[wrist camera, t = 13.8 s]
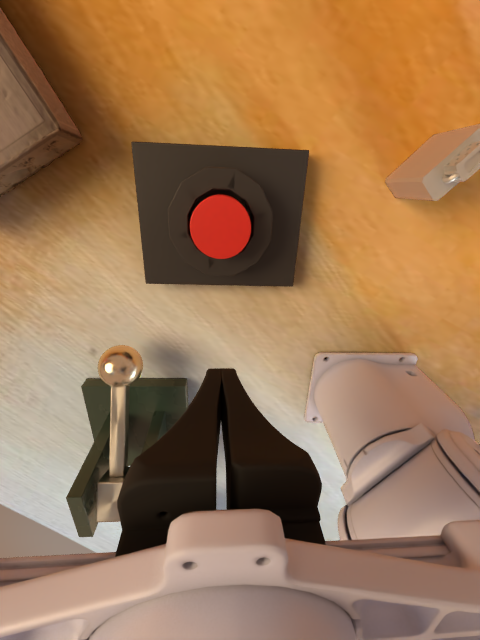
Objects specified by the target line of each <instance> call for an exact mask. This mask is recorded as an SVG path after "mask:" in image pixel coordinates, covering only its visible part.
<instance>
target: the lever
mask: <svg viewBox="0 0 480 640" xmlns="http://www.w3.org/2000/svg"><path fill="white" fill-rule="evenodd" d="M142 370H143V360H142V357H141V355H140V354H139V353H138V351H136V350H135V349H134V348H132V347H130V346H126V345H118V346H114V347H111V348H109V349H108V350H106V351H105V352H104V353H103V354H102V356H101V357H100V359H99V362H98V373H99V376H100V378H101V379H102V381H103V382H105V383H106V384H107V385H109V386H111V412H110V454H109V469H108V470H107V471H106V473H105V474H104V475H103V476H102V478H101V479H100V480H99V481H98V483H97V514H96V522H118V521H120V517H119V513H118V508H117V500H118V497H119V493H120V490H121V487H122V484H123V481H124V479H125V477H126V474H127V472H128V470H129V468H130V467H128V436H129V390H130V385H131V384H133V383H134V382H135V381H136V380H137V379H138V378H139V377H140V375H141V373H142Z"/></svg>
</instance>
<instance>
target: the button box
mask: <svg viewBox="0 0 480 640" xmlns="http://www.w3.org/2000/svg"><path fill="white" fill-rule="evenodd" d="M131 144H132V153H133V163H134V173H135V182H136V192H137V202H138V211H139V221H140V231H141V241H142V250H143V260H144V270H145V279H146V283H147V284H196V285H245V286H293V282H294V273H295V265H296V257H297V248H298V240H299V231H300V223H301V215H302V206H303V198H304V190H305V181H306V173H307V165H308V156H309V150H292V149H272V148H252V147H231V146H211V145H191V144H170V143H150V142H131ZM217 194H223V195H228V196H231V197H233V198H235V199H236V200H238V201H239V202H240V203H241V204H242V205H243V206H244V208H245V209H246V211H247V212H248V215H249V217H250V221H251V235H250V238H249V241H248V243H247V245H246V246H245V248H244V249H243V250H242V251H241V252H240V253H238V254H237V255H235V256H233V257H230V258H226V259H216V258H212V257H209V256H207V255H205V254H204V253H202V252H201V251H200V250H199V249H198V248H197V246H196V245H195V244H194V242H193V240H192V237H191V233H190V219H191V216H192V213H193V211H194V210H195V208H196V207H197V205H198V204H199V203H200V202H202V201H203V200H204V199H206V198H207V197H209V196H212V195H217Z"/></svg>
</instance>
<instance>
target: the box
mask: <svg viewBox="0 0 480 640" xmlns="http://www.w3.org/2000/svg"><path fill="white" fill-rule="evenodd" d="M81 141H82V137H81V135H80V132H79V131H78V129H77V127H76V125H75V124H74V122H73V121H72V119H71V118H70V116H69V114H68V113H67V112H66V110H65V108H64V106H63V104H62V103H61V101H60V100H59V99H58V97H57V95H56V94H55V92H54V91H53V89H52V88H51V86H50V84H49V83H48V81H47V80H46V78H45V76H44V74H43V72H42V70H41V69H40V67H39V66H37V64H36V62H35V60H34V58H33V57H32V55H31V54H30V53H29V52H28V50H27V48H26V47H25V45H24V43H23V42H22V40H21V39H20V37H19V36H18V35H17V32H16V31H15V29H14V27H13V26H12V25H11V23H10V21H9V20H8V19H7V17H6V15H5V14H4V12H3V11H2V9H1V8H0V196H1V195H4V194H5V193H6V192H9V191H10V190H12V189H14V188H15V187H16V186H17V185H18V184H20V183H21V182H23V181H24V180H26V179H27V177H30V176H32V175H34V174H35V173H36V172H38V171H39V170H40V168H44V167H46V166H48V165H49V164H50V163H52V161H53V160H55V159H56V158H58V157H60V156H62V155H64V153H65V152H68V151H69V150H70V149H71V148H73V147H75V146H76V145H79V143H80V142H81Z"/></svg>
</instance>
